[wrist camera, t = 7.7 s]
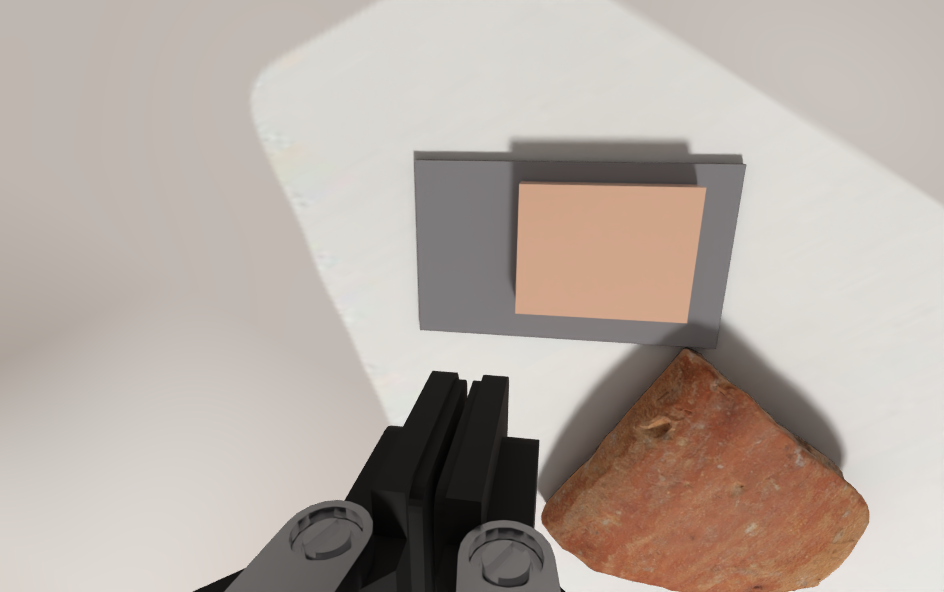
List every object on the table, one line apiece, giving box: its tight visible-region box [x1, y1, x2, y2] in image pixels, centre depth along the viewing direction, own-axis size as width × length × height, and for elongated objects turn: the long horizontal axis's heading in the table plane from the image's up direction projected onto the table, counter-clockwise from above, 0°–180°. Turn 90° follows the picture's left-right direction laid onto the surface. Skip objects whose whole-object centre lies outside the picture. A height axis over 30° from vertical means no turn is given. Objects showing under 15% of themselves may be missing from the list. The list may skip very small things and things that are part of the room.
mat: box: [415, 160, 746, 349], centre depth 29 cm, size 17×10×1 cm, turn 90°
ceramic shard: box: [541, 348, 869, 592], centre depth 30 cm, size 15×6×15 cm
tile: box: [515, 181, 706, 323], centre depth 27 cm, size 2×7×9 cm
